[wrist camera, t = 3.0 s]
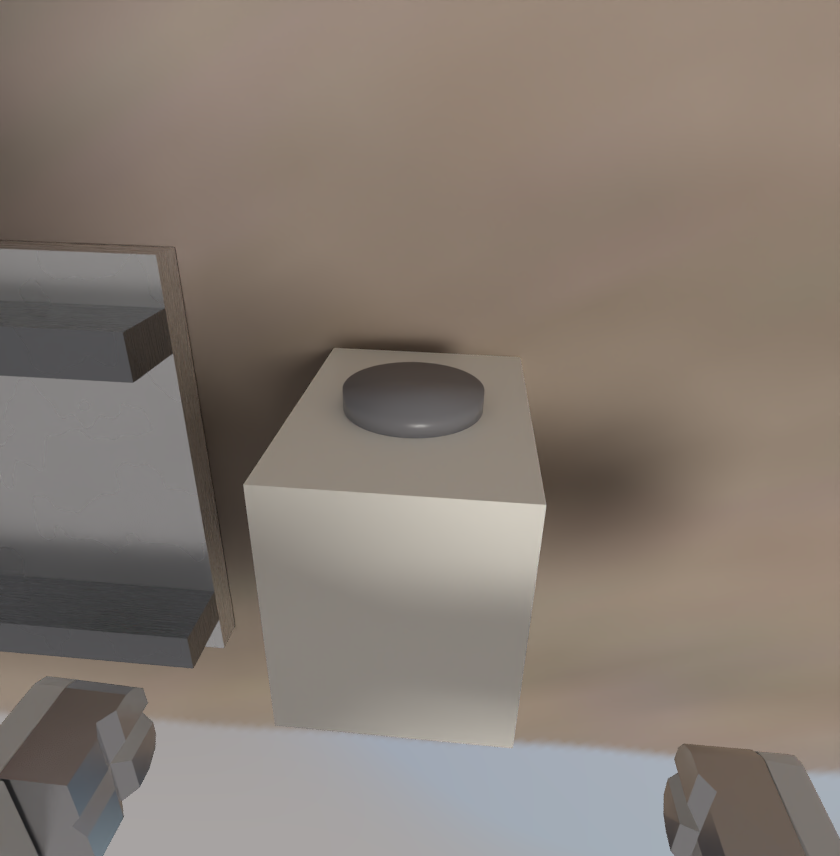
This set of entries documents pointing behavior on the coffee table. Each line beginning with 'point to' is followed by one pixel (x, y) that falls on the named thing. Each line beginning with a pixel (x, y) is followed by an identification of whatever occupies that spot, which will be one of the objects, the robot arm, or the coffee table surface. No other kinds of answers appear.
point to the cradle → (104, 461)
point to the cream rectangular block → (400, 547)
